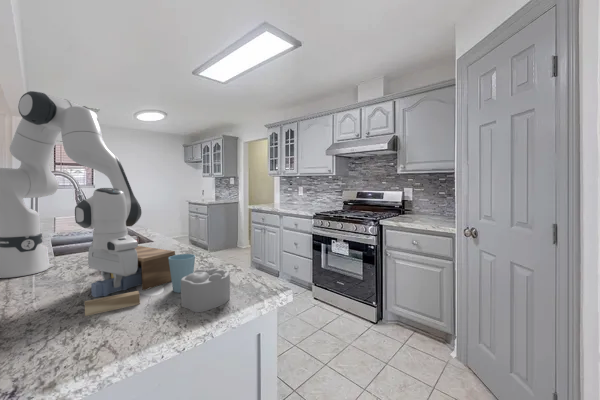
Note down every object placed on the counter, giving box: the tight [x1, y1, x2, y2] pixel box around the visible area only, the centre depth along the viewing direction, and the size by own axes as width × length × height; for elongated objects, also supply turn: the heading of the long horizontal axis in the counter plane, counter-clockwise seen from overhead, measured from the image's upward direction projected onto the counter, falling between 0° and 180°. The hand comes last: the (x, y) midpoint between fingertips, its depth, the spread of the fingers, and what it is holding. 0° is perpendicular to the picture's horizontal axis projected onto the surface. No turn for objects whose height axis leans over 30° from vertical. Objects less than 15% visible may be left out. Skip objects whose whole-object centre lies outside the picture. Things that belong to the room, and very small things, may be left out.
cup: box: [168, 253, 196, 294], centre depth 89 cm, size 8×8×10 cm
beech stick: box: [84, 290, 141, 317], centre depth 76 cm, size 3×12×3 cm, turn 127°
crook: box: [90, 266, 142, 298], centre depth 94 cm, size 10×19×4 cm, turn 148°
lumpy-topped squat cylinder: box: [180, 267, 231, 313], centre depth 80 cm, size 10×13×9 cm
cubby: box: [110, 245, 176, 291], centre depth 98 cm, size 20×12×10 cm, turn 62°
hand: (112, 285), depth 88 cm, fingers closed on crook, 3 cm apart
